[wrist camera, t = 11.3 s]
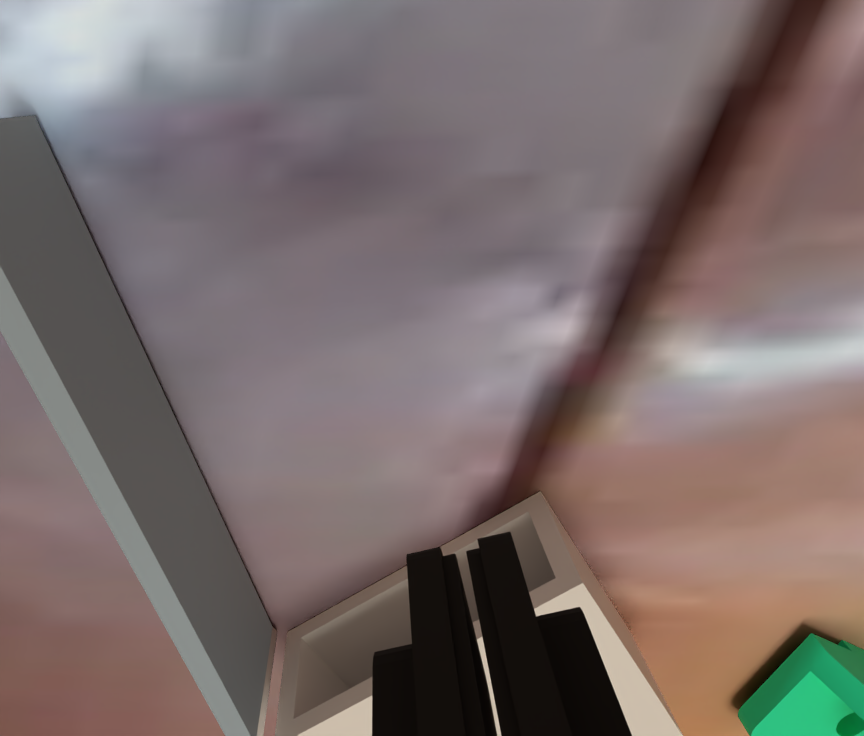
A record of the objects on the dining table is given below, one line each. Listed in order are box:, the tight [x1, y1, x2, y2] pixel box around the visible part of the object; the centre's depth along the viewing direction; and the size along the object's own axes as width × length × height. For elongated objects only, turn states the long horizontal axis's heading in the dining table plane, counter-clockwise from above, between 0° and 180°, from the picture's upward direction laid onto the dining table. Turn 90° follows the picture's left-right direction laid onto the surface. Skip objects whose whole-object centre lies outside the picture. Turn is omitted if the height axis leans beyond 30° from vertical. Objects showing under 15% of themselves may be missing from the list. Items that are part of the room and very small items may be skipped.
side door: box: [0, 115, 277, 736], centre depth 28 cm, size 28×2×7 cm, turn 14°
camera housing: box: [275, 491, 683, 736], centre depth 35 cm, size 18×12×7 cm
